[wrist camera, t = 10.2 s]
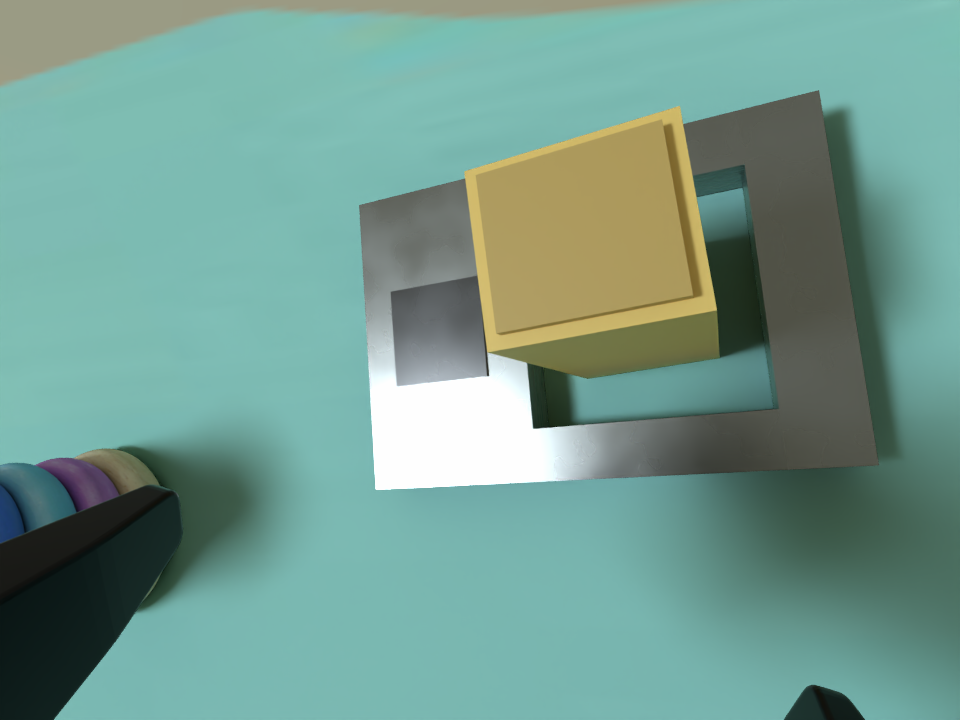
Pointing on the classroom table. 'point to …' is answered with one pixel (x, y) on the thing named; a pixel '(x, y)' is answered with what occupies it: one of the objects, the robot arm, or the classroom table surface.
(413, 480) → the grey metal flat frame
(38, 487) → the stacking toy
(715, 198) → the classroom table surface
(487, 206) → the yellow square block
